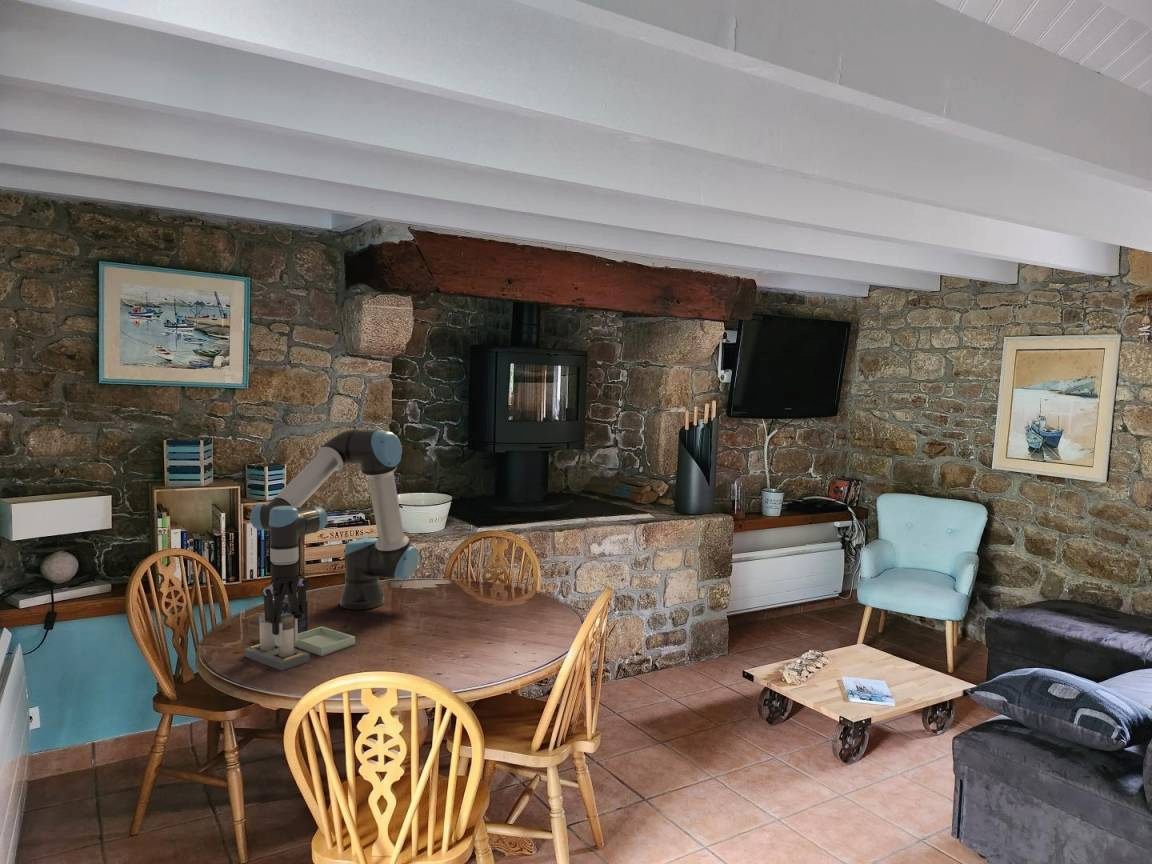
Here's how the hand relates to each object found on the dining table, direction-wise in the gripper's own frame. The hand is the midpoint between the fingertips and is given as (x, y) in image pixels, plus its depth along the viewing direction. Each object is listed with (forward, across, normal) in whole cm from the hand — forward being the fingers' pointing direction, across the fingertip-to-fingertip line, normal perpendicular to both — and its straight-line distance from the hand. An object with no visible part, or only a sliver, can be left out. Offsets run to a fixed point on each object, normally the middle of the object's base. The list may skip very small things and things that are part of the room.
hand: (286, 642), depth 220 cm
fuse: (+6, 0, -9) cm, 11 cm away
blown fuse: (+4, 0, 0) cm, 4 cm away
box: (+6, -16, -20) cm, 26 cm away
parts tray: (+6, -15, -4) cm, 16 cm away
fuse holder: (+6, 0, -4) cm, 7 cm away
